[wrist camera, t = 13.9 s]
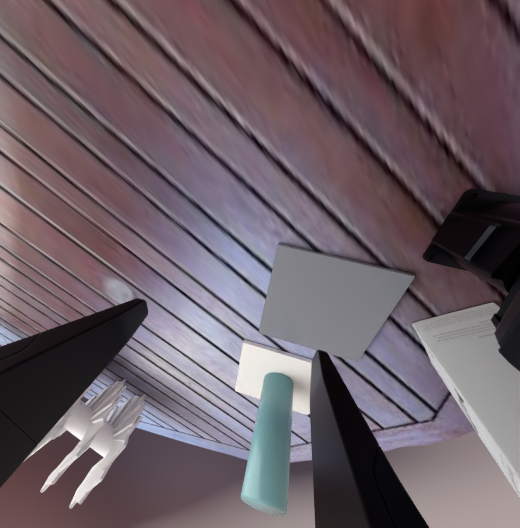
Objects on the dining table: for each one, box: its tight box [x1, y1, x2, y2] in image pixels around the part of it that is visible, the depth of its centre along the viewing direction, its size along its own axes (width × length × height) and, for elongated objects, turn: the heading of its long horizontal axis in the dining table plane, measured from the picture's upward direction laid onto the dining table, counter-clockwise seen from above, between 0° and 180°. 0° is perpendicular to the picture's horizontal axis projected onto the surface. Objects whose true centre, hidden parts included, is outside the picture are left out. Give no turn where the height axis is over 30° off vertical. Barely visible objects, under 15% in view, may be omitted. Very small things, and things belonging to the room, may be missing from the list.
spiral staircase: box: [23, 378, 146, 508], centre depth 37 cm, size 18×18×25 cm
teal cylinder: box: [241, 372, 294, 516], centre depth 25 cm, size 5×5×13 cm
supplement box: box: [412, 303, 520, 497], centre depth 15 cm, size 7×7×13 cm
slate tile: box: [259, 243, 415, 362], centre depth 23 cm, size 14×14×1 cm
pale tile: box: [235, 339, 312, 415], centre depth 31 cm, size 14×14×1 cm
